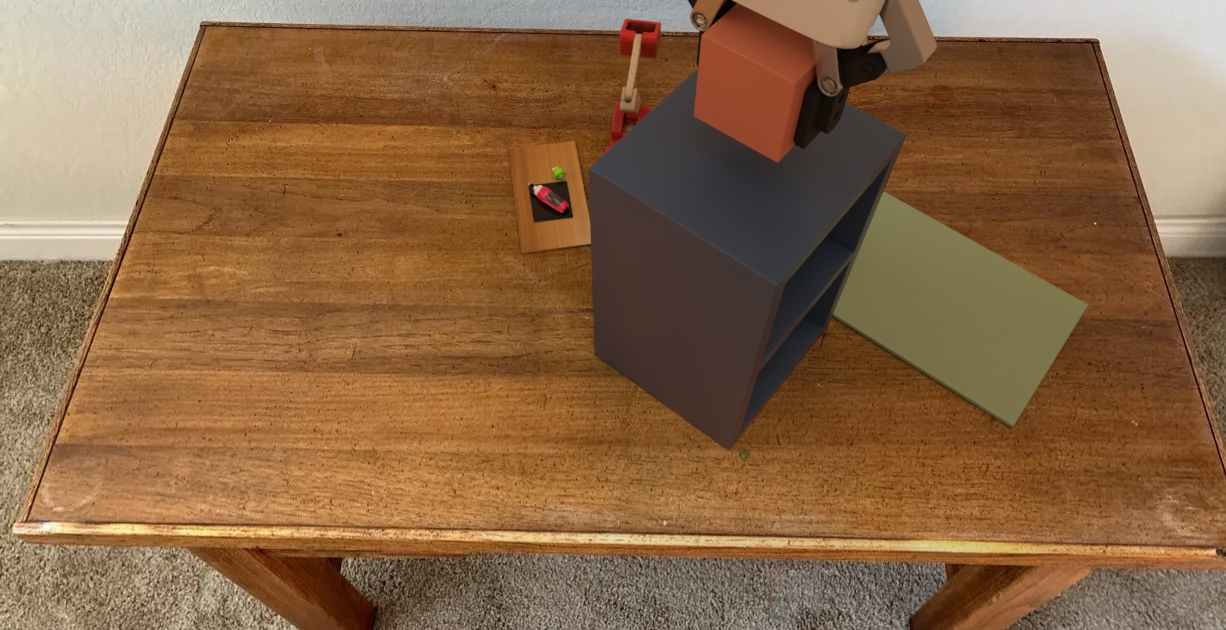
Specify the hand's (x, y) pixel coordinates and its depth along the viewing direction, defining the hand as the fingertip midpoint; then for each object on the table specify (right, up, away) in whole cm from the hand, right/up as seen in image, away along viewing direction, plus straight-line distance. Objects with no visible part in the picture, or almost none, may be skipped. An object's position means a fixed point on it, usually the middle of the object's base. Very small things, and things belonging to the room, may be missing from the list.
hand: (764, 103), depth 47 cm
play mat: (+18, -10, +24) cm, 32 cm away
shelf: (0, -14, +22) cm, 26 cm away
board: (-14, -1, +30) cm, 33 cm away
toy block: (0, 0, 0) cm, 0 cm away
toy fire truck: (-7, +4, +33) cm, 34 cm away
